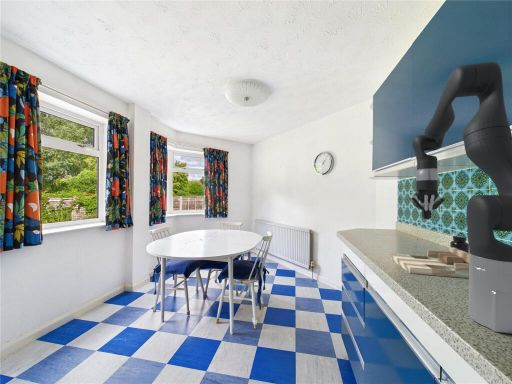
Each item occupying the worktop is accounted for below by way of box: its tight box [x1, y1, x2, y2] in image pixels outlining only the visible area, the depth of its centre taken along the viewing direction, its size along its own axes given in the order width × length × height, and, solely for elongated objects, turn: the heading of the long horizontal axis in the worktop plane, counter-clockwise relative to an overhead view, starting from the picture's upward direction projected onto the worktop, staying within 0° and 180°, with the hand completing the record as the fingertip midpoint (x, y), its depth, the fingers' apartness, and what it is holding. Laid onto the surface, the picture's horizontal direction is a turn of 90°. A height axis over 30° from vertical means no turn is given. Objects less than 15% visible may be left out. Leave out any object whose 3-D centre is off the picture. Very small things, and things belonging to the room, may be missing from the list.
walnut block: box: [438, 253, 463, 265], centre depth 94 cm, size 6×6×4 cm
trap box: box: [390, 246, 469, 279], centre depth 95 cm, size 20×27×8 cm
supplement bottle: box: [449, 235, 469, 253], centre depth 106 cm, size 7×7×12 cm
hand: (426, 219), depth 93 cm, fingers closed
